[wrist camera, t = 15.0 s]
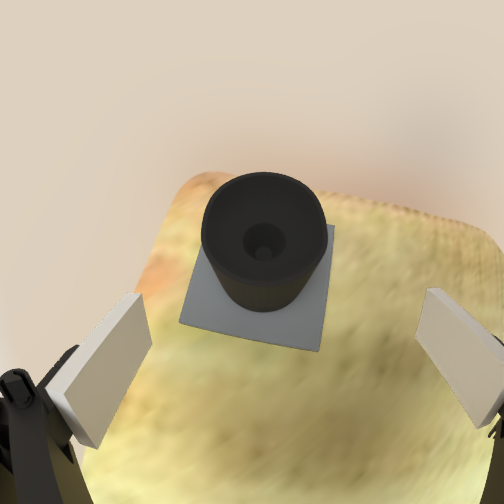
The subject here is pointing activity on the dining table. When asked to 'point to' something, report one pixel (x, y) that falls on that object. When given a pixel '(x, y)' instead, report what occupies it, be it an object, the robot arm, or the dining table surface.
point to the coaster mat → (259, 323)
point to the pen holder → (264, 239)
